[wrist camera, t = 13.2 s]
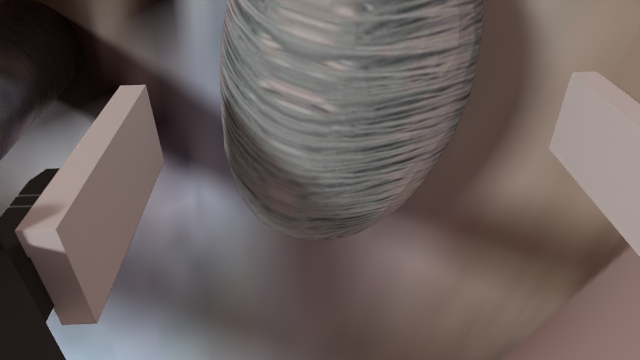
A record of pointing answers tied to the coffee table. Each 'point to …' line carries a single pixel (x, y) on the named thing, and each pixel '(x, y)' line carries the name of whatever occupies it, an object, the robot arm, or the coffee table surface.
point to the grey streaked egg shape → (341, 104)
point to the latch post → (32, 65)
